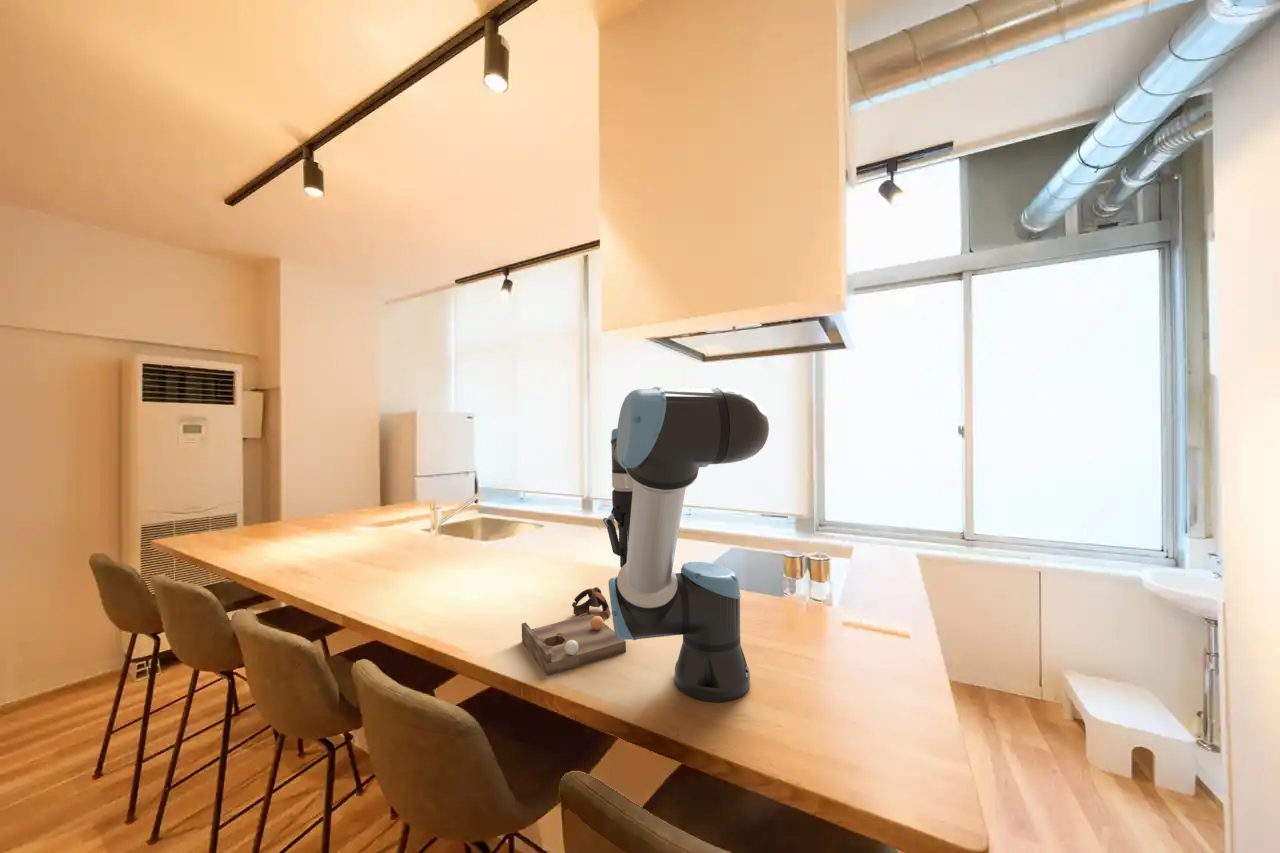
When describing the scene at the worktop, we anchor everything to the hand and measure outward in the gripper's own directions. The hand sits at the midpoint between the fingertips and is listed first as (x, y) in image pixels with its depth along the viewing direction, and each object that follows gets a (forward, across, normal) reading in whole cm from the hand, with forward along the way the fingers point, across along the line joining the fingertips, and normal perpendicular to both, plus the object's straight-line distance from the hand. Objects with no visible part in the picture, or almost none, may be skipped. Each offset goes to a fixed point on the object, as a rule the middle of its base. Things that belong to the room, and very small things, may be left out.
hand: (628, 580), depth 119 cm
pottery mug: (+13, +4, -14) cm, 19 cm away
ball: (+9, +9, 0) cm, 13 cm away
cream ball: (+8, +19, +8) cm, 23 cm away
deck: (+13, +16, 0) cm, 20 cm away
